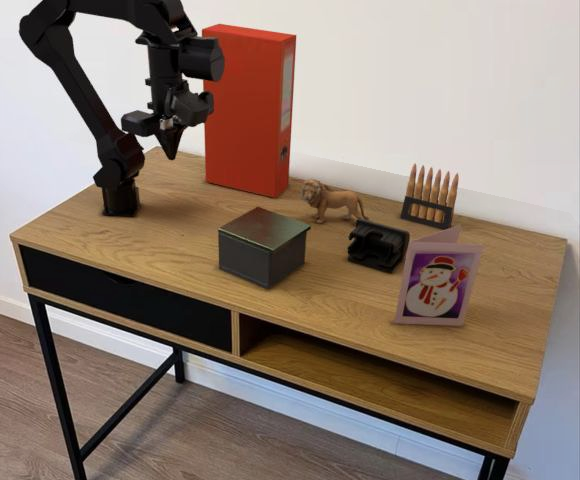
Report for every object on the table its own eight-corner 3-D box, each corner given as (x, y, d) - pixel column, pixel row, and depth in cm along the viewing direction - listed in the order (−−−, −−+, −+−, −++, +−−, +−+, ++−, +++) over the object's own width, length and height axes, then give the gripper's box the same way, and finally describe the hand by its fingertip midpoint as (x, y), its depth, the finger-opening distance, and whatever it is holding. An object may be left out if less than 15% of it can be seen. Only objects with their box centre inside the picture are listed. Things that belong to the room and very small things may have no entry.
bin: (304, 263, 119) (307, 228, 114) (268, 289, 111) (269, 252, 106) (257, 245, 123) (257, 210, 119) (218, 268, 116) (218, 232, 111)
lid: (310, 229, 114) (311, 225, 113) (273, 254, 106) (273, 249, 106) (257, 210, 119) (257, 206, 118) (217, 232, 111) (217, 228, 111)
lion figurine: (300, 226, 131) (302, 184, 125) (298, 214, 135) (300, 174, 129) (370, 227, 132) (376, 186, 126) (366, 215, 136) (371, 175, 131)
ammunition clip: (400, 218, 136) (409, 163, 129) (403, 214, 137) (412, 160, 130) (448, 230, 132) (460, 175, 125) (451, 227, 134) (463, 172, 126)
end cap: (406, 258, 122) (412, 226, 118) (393, 274, 117) (399, 241, 113) (358, 245, 126) (362, 213, 121) (344, 260, 120) (347, 227, 116)
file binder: (222, 171, 152) (220, 22, 132) (288, 185, 147) (296, 34, 127) (205, 182, 146) (200, 29, 126) (274, 198, 141) (279, 41, 121)
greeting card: (394, 326, 104) (409, 244, 95) (389, 301, 110) (402, 222, 101) (463, 328, 104) (485, 247, 95) (454, 303, 110) (473, 225, 101)
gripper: (162, 94, 102) (169, 186, 112) (234, 72, 115) (235, 156, 124) (113, 80, 107) (124, 169, 117) (188, 61, 120) (192, 142, 129)
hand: (171, 159), depth 122 cm, fingers closed
